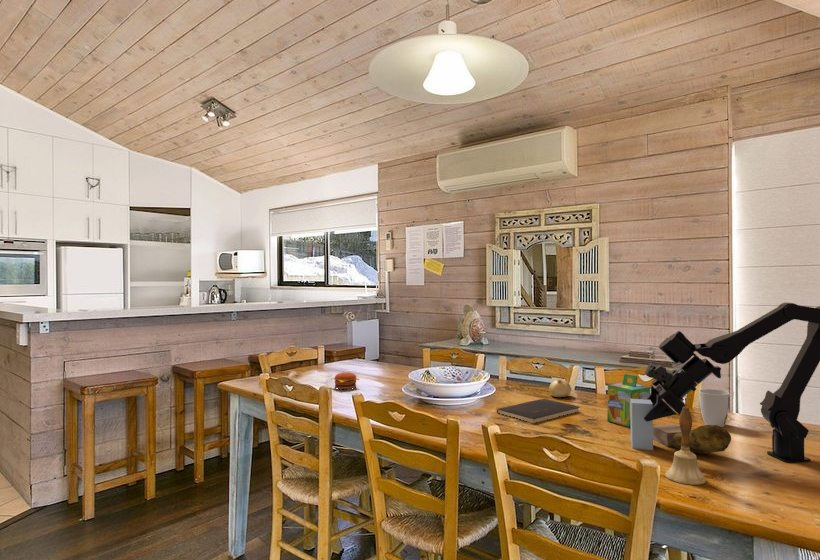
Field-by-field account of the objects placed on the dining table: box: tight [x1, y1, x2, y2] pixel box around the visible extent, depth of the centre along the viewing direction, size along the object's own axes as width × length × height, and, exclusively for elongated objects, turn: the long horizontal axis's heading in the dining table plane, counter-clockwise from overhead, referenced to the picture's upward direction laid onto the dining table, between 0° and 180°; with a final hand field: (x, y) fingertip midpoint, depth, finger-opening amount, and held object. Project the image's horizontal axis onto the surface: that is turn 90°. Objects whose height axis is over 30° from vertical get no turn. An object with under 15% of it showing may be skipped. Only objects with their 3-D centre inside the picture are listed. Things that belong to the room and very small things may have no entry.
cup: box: [698, 388, 731, 428], centre depth 158 cm, size 8×8×10 cm
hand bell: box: [664, 406, 707, 486], centre depth 118 cm, size 8×8×16 cm
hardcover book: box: [496, 398, 581, 424], centre depth 176 cm, size 16×23×2 cm
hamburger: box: [331, 371, 360, 390], centre depth 221 cm, size 9×10×7 cm
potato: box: [672, 424, 732, 455], centre depth 133 cm, size 8×13×8 cm, turn 26°
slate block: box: [630, 399, 654, 451], centre depth 140 cm, size 5×5×12 cm
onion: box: [548, 378, 572, 398], centre depth 199 cm, size 8×8×7 cm
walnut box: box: [653, 423, 681, 448], centre depth 143 cm, size 7×7×4 cm
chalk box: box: [606, 373, 651, 429], centre depth 162 cm, size 9×9×15 cm
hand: (643, 415), depth 140 cm, fingers open, 9 cm apart
